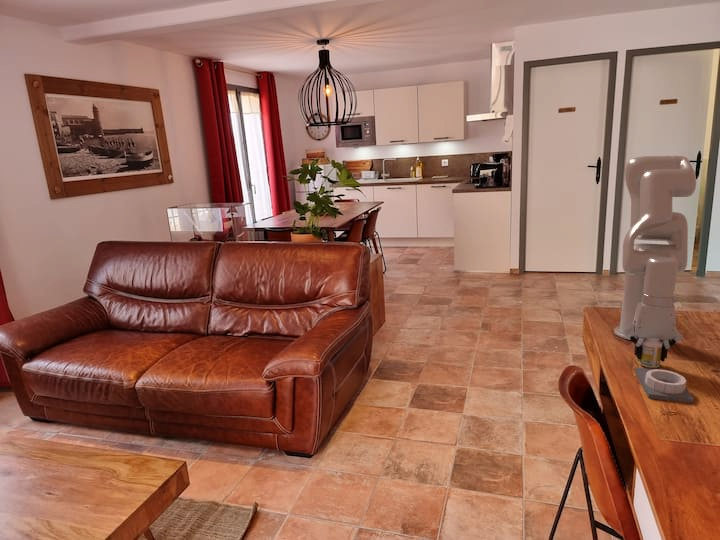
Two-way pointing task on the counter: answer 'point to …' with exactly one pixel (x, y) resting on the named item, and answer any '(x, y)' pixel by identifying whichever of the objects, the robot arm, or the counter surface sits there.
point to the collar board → (659, 394)
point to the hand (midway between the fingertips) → (649, 358)
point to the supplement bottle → (651, 352)
